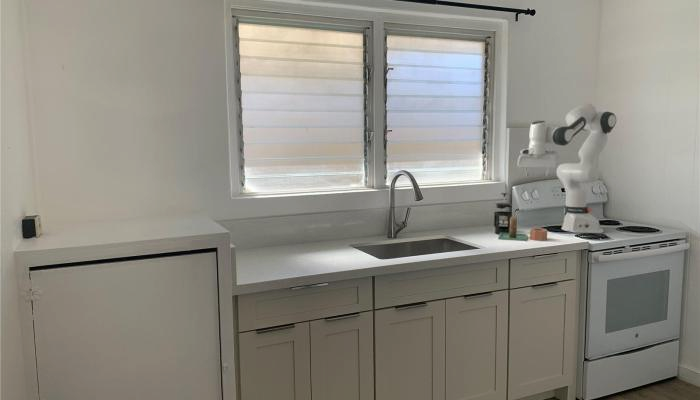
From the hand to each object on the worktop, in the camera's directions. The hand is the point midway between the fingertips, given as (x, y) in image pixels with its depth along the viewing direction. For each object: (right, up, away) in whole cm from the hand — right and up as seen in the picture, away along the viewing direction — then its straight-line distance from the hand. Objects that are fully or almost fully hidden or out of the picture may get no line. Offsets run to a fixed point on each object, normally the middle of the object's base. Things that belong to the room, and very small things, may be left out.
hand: (536, 176), depth 292 cm
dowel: (-15, -33, -6) cm, 37 cm away
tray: (-15, -34, -6) cm, 38 cm away
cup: (-2, -35, -10) cm, 36 cm away
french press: (-15, -32, +12) cm, 37 cm away
